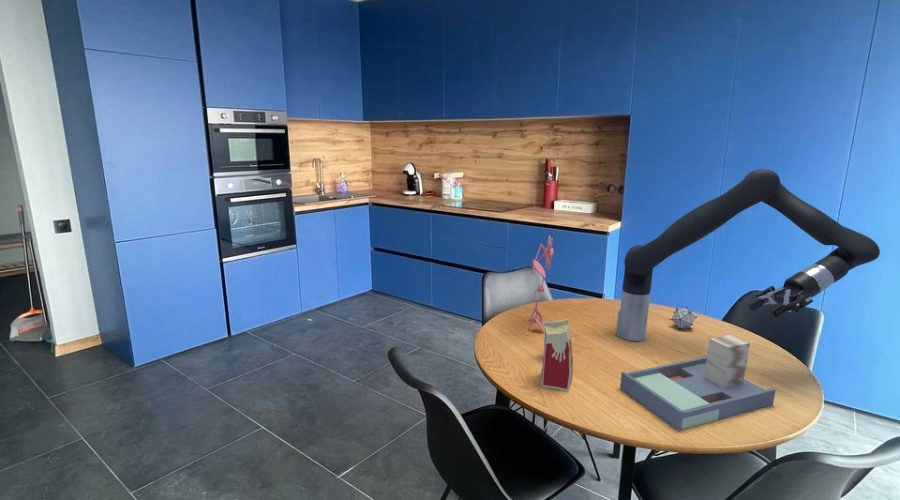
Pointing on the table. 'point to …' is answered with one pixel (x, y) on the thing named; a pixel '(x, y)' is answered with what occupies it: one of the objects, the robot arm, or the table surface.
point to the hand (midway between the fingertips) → (761, 311)
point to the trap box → (691, 394)
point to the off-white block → (726, 360)
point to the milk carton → (557, 357)
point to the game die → (683, 318)
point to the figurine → (548, 255)
